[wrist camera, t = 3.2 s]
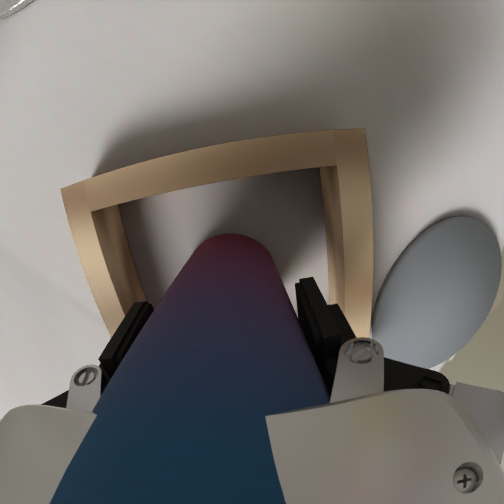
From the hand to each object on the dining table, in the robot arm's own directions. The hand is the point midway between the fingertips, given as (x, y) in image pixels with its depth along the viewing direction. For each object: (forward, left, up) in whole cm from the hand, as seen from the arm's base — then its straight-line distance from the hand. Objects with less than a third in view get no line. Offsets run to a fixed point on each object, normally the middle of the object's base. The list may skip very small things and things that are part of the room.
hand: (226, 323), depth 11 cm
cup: (0, 0, -5) cm, 5 cm away
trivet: (+5, +15, -5) cm, 16 cm away
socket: (0, 0, -5) cm, 5 cm away
